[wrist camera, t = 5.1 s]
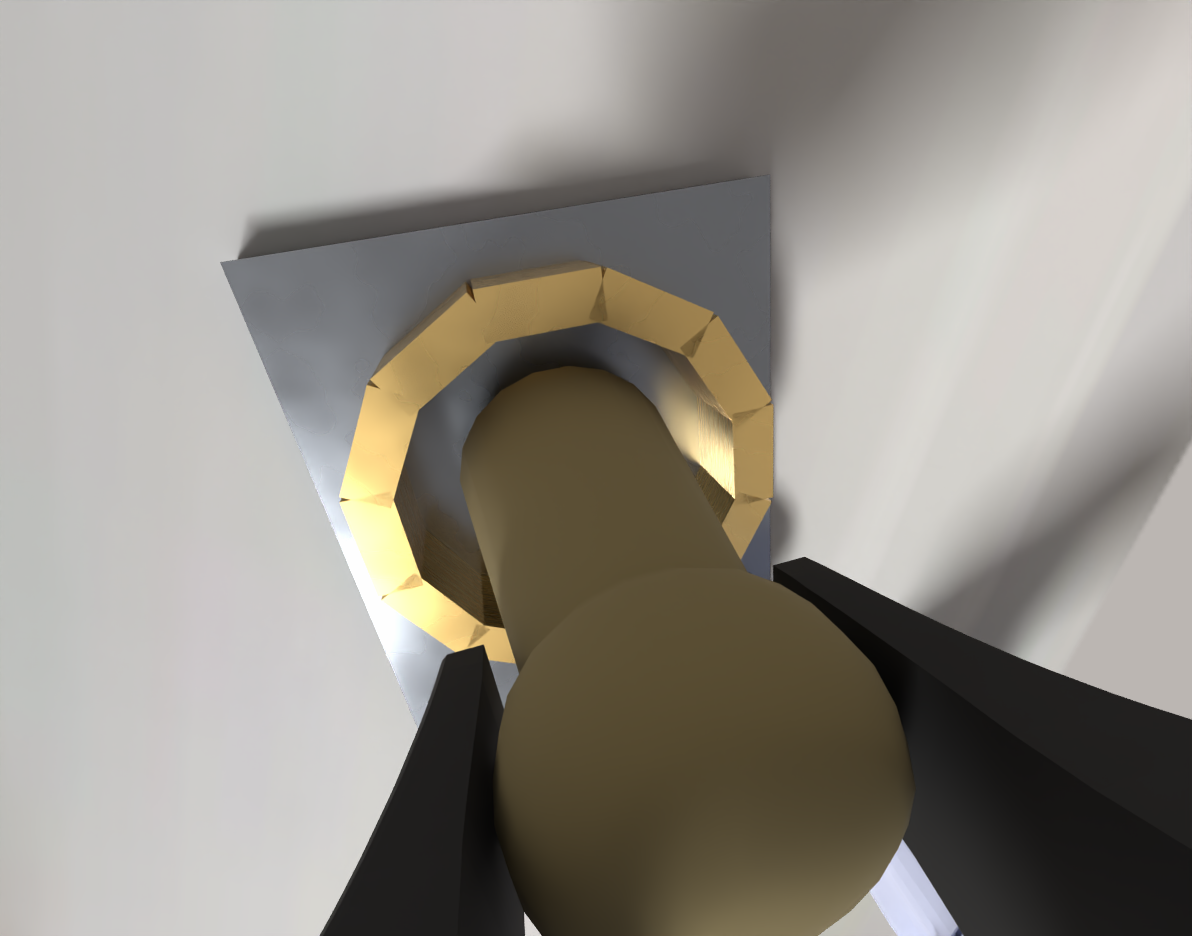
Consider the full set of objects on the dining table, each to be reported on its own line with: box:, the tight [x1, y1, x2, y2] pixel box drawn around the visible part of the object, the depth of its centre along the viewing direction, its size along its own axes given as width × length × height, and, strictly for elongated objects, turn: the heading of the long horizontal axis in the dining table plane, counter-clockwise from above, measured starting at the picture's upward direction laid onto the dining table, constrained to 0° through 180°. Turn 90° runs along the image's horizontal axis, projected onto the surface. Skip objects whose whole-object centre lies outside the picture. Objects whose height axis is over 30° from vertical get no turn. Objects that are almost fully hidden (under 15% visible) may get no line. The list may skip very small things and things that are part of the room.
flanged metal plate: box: [220, 175, 773, 728], centre depth 17 cm, size 18×14×4 cm
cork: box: [460, 366, 916, 936], centre depth 10 cm, size 6×6×11 cm
